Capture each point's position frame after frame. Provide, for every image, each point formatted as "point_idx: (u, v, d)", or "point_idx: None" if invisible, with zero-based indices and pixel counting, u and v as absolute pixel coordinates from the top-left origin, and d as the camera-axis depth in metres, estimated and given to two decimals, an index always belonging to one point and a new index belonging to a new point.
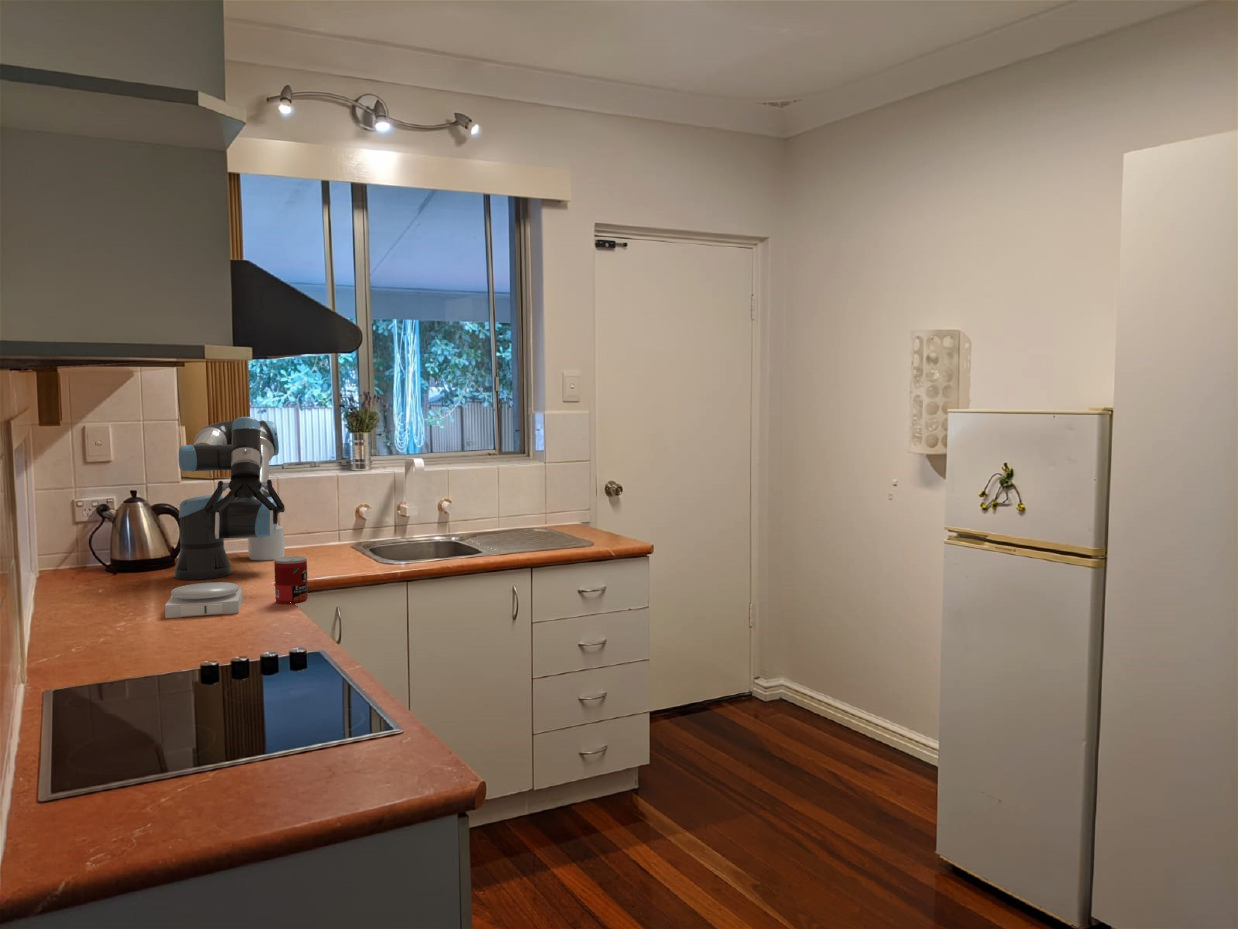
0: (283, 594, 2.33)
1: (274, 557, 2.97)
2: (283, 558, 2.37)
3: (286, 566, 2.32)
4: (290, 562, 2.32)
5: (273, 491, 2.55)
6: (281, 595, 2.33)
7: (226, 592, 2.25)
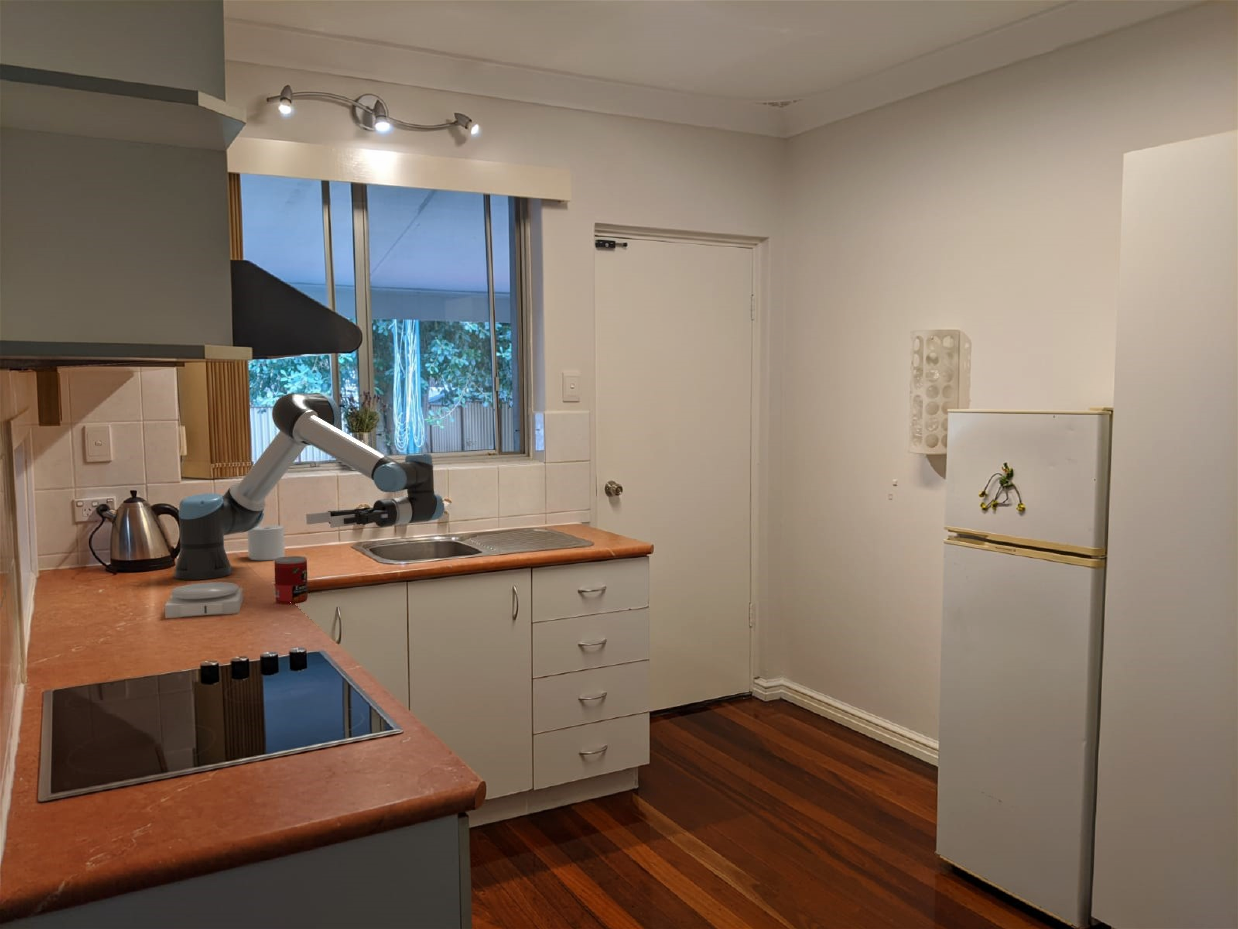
0: (283, 594, 2.33)
1: (274, 557, 2.97)
2: (283, 558, 2.37)
3: (286, 566, 2.32)
4: (290, 562, 2.32)
5: None
6: (281, 595, 2.33)
7: (226, 592, 2.25)
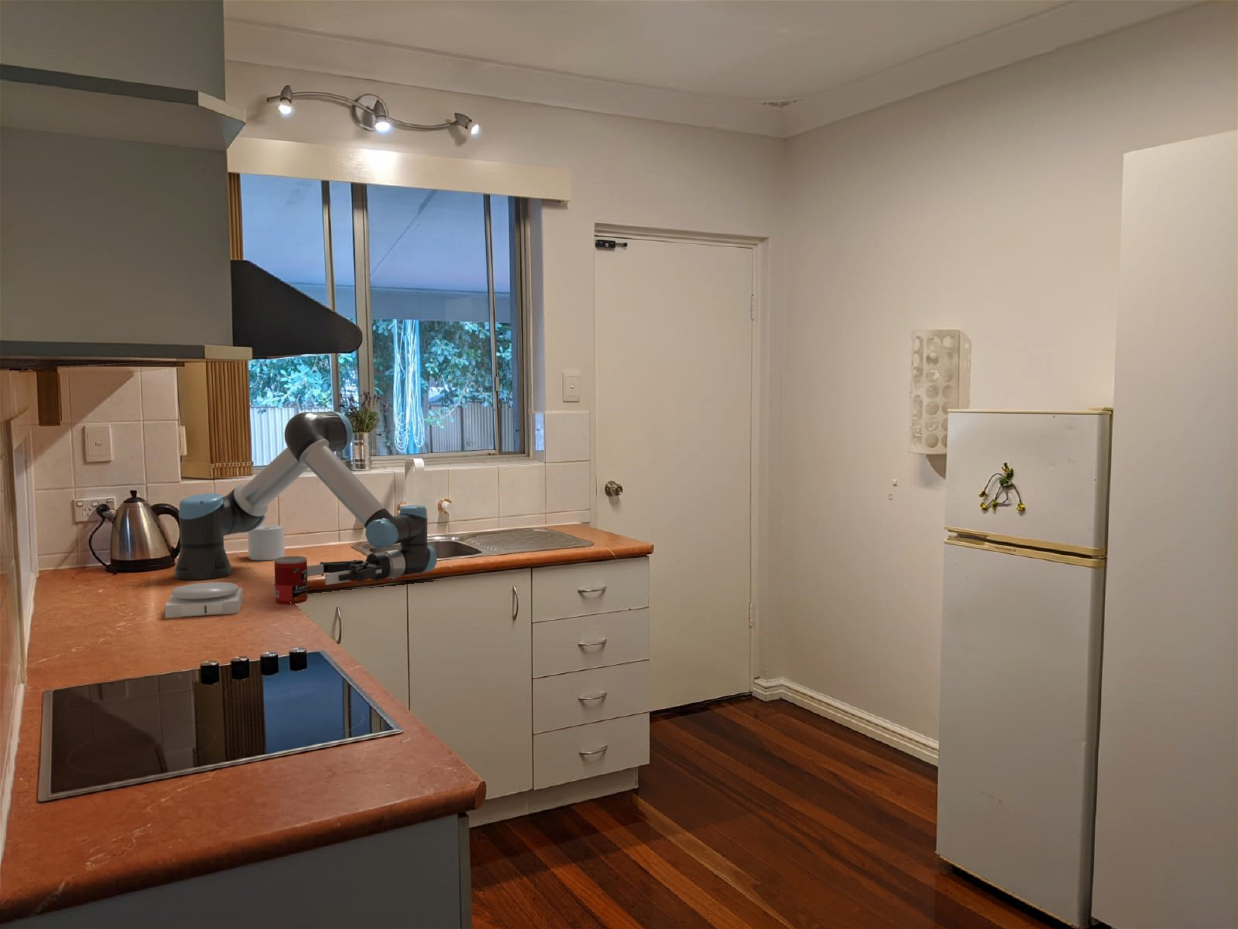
0: (283, 594, 2.33)
1: (274, 557, 2.97)
2: (283, 558, 2.37)
3: (286, 566, 2.32)
4: (290, 562, 2.32)
5: None
6: (281, 595, 2.33)
7: (226, 592, 2.25)
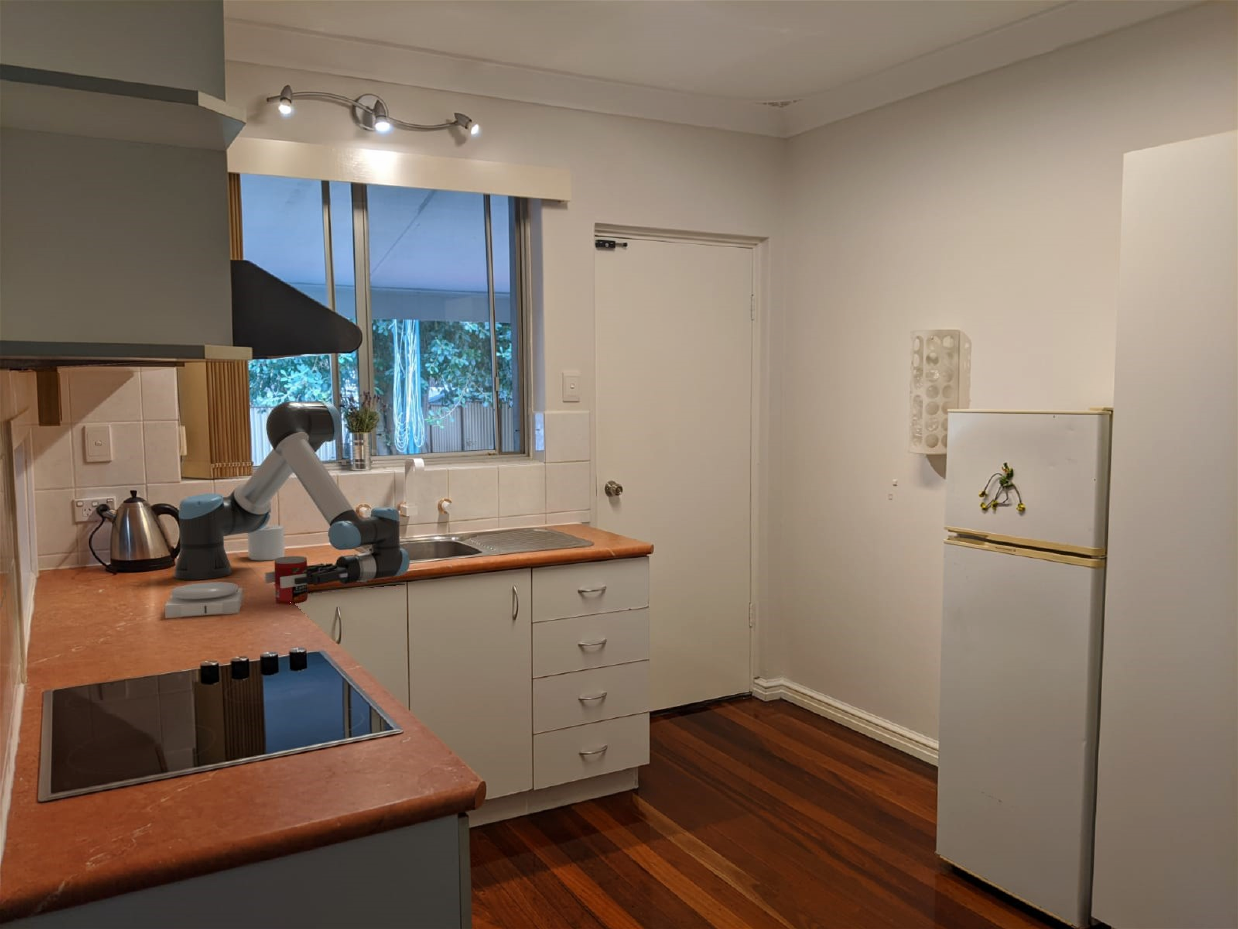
0: (283, 594, 2.33)
1: (274, 557, 2.97)
2: (283, 558, 2.37)
3: (286, 566, 2.32)
4: (290, 562, 2.32)
5: None
6: (281, 595, 2.33)
7: (226, 592, 2.25)
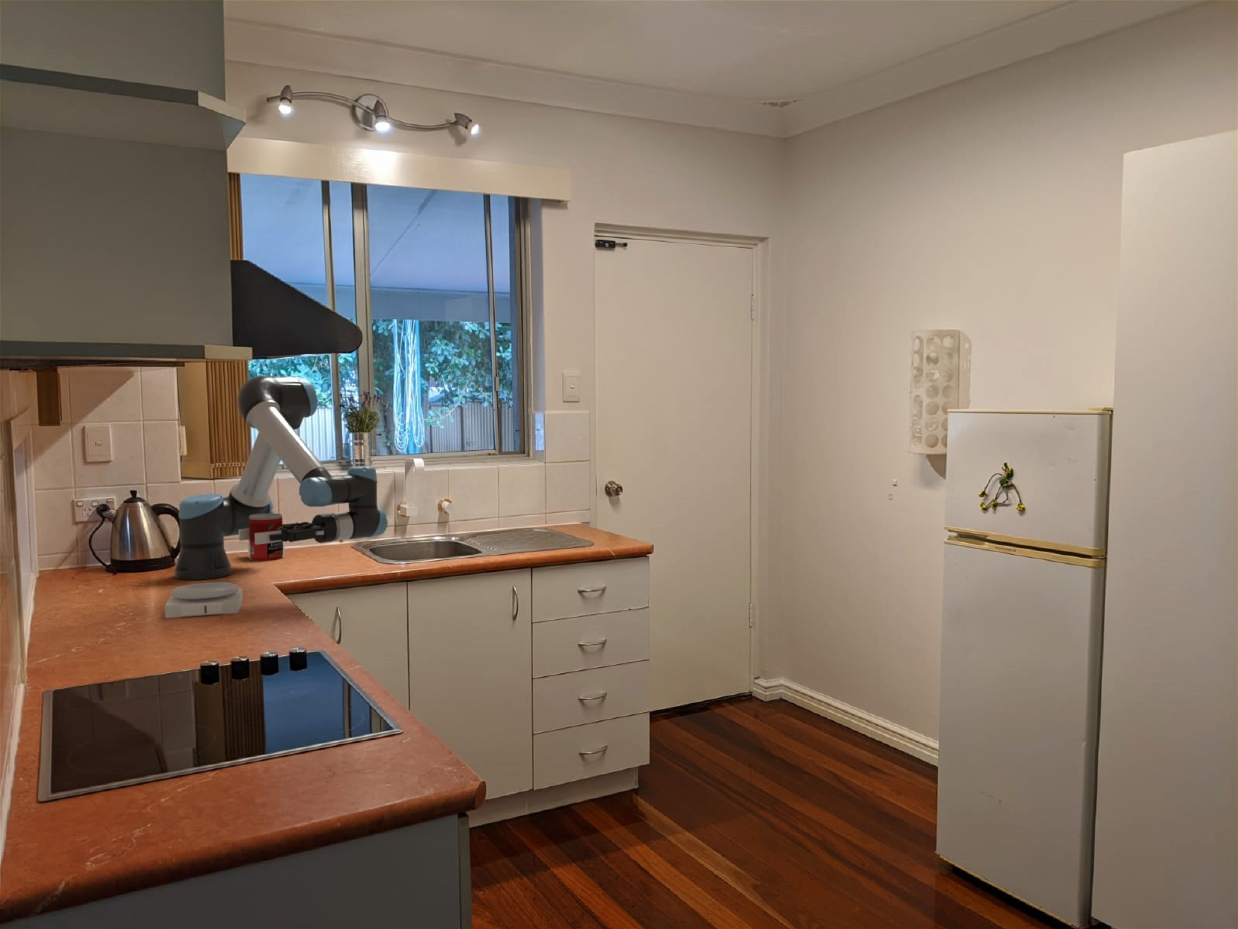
0: (258, 551, 2.28)
1: None
2: (257, 515, 2.33)
3: (260, 522, 2.28)
4: (265, 518, 2.28)
5: None
6: (256, 551, 2.28)
7: (226, 592, 2.25)
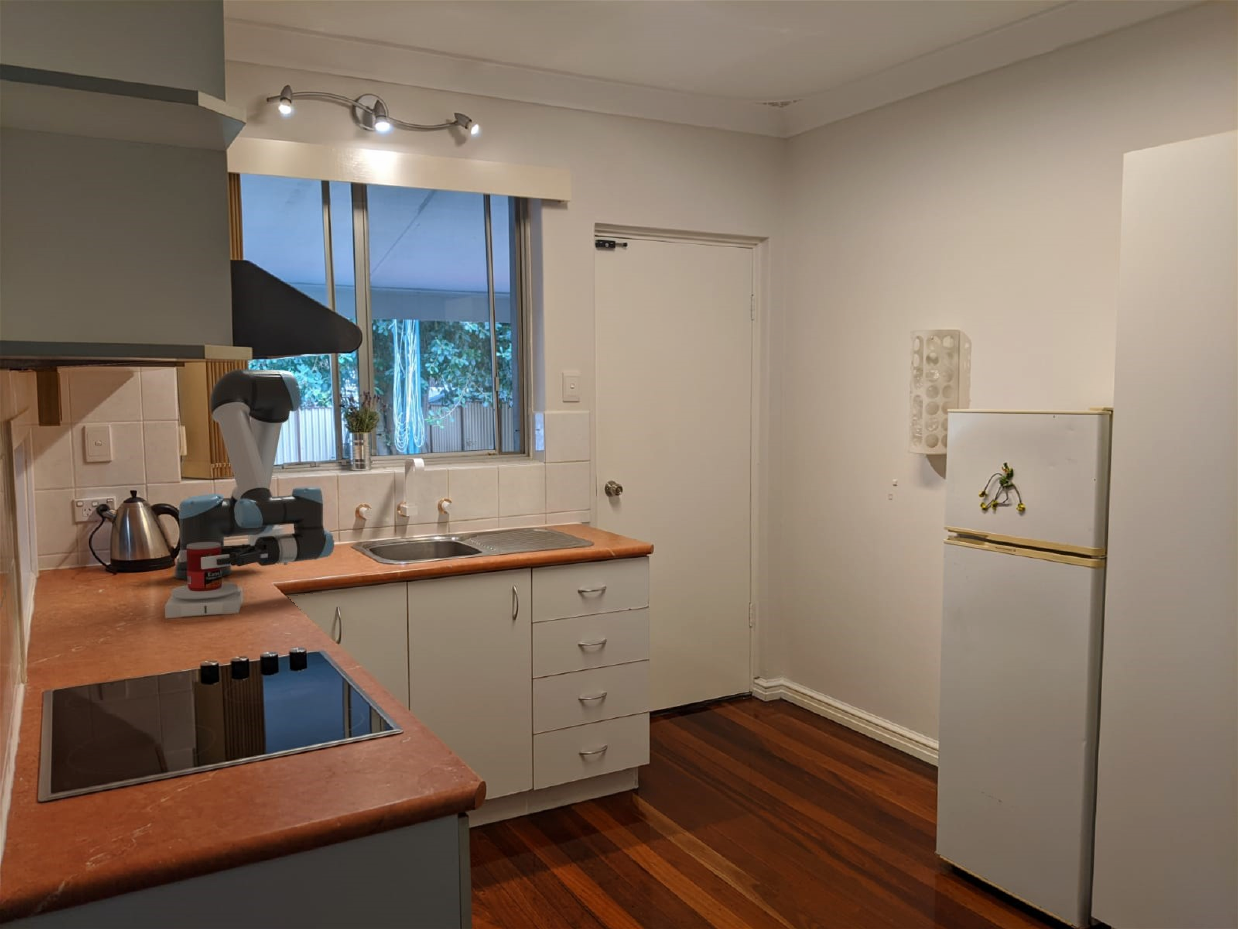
0: (194, 581, 2.24)
1: None
2: (196, 544, 2.29)
3: (197, 552, 2.24)
4: (202, 547, 2.24)
5: None
6: (193, 581, 2.24)
7: (226, 592, 2.25)
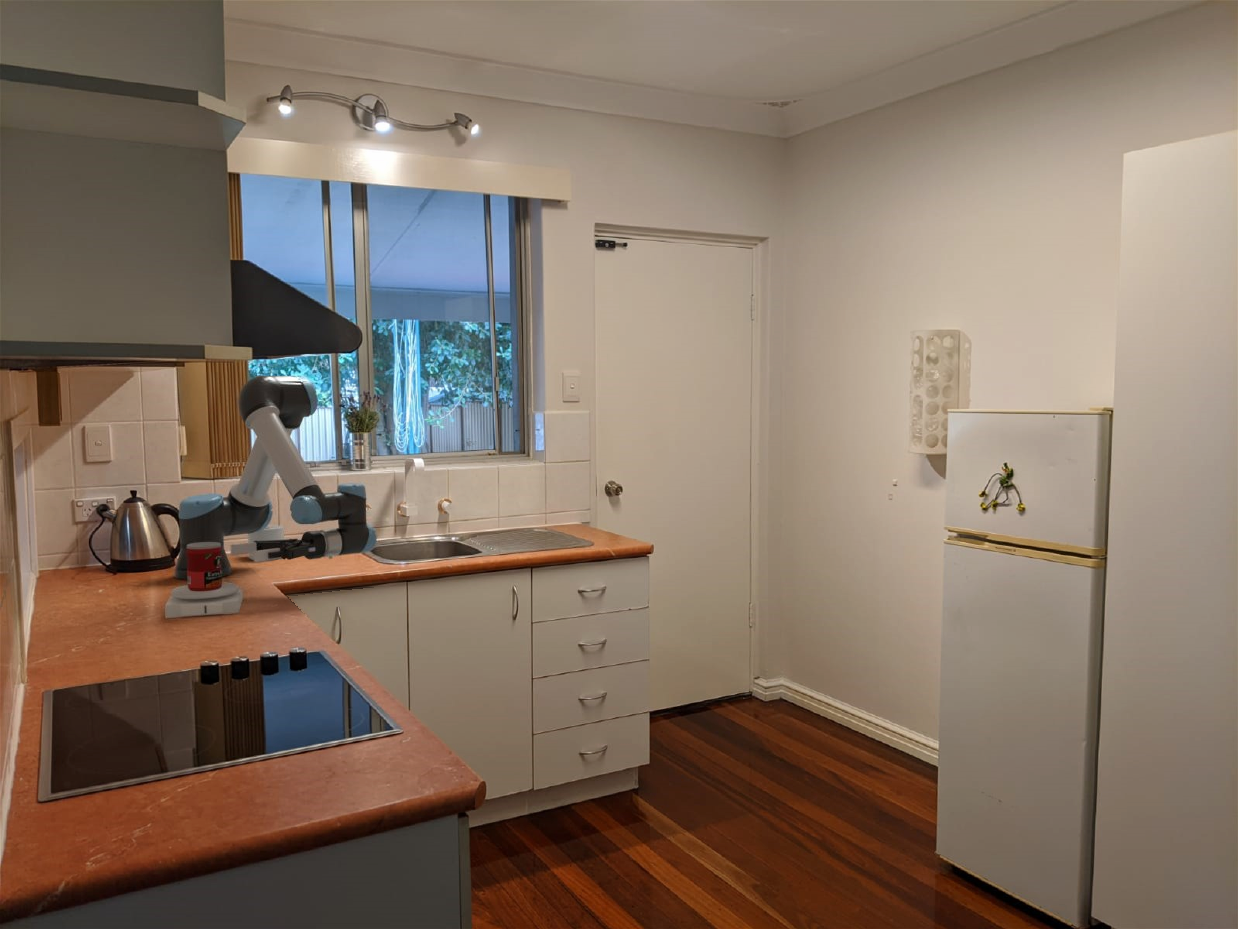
0: (194, 581, 2.24)
1: None
2: (196, 544, 2.29)
3: (197, 552, 2.24)
4: (202, 547, 2.24)
5: None
6: (193, 581, 2.24)
7: (226, 592, 2.25)
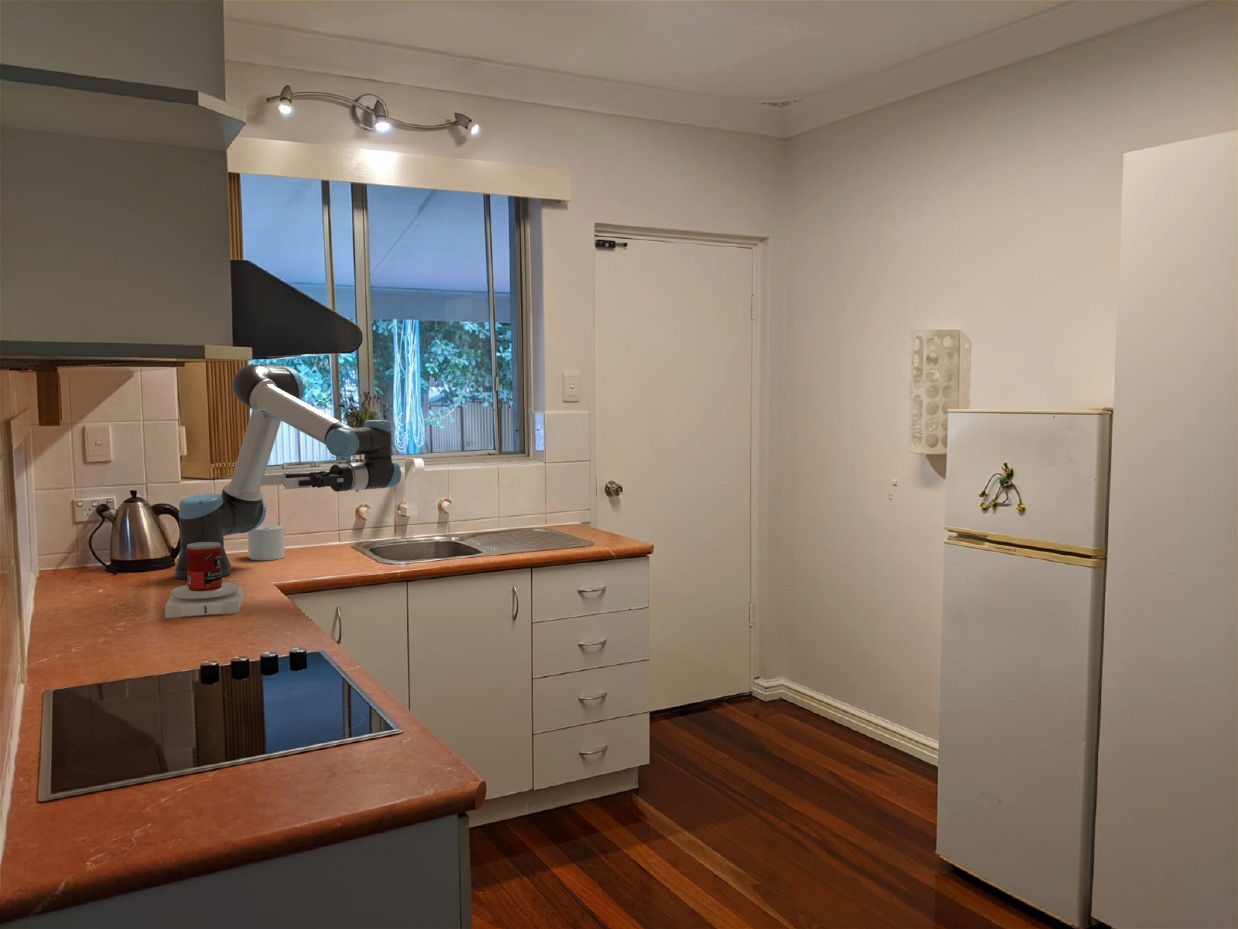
0: (194, 581, 2.24)
1: (274, 557, 2.97)
2: (196, 544, 2.29)
3: (197, 552, 2.24)
4: (202, 547, 2.24)
5: None
6: (193, 581, 2.24)
7: (226, 592, 2.25)
